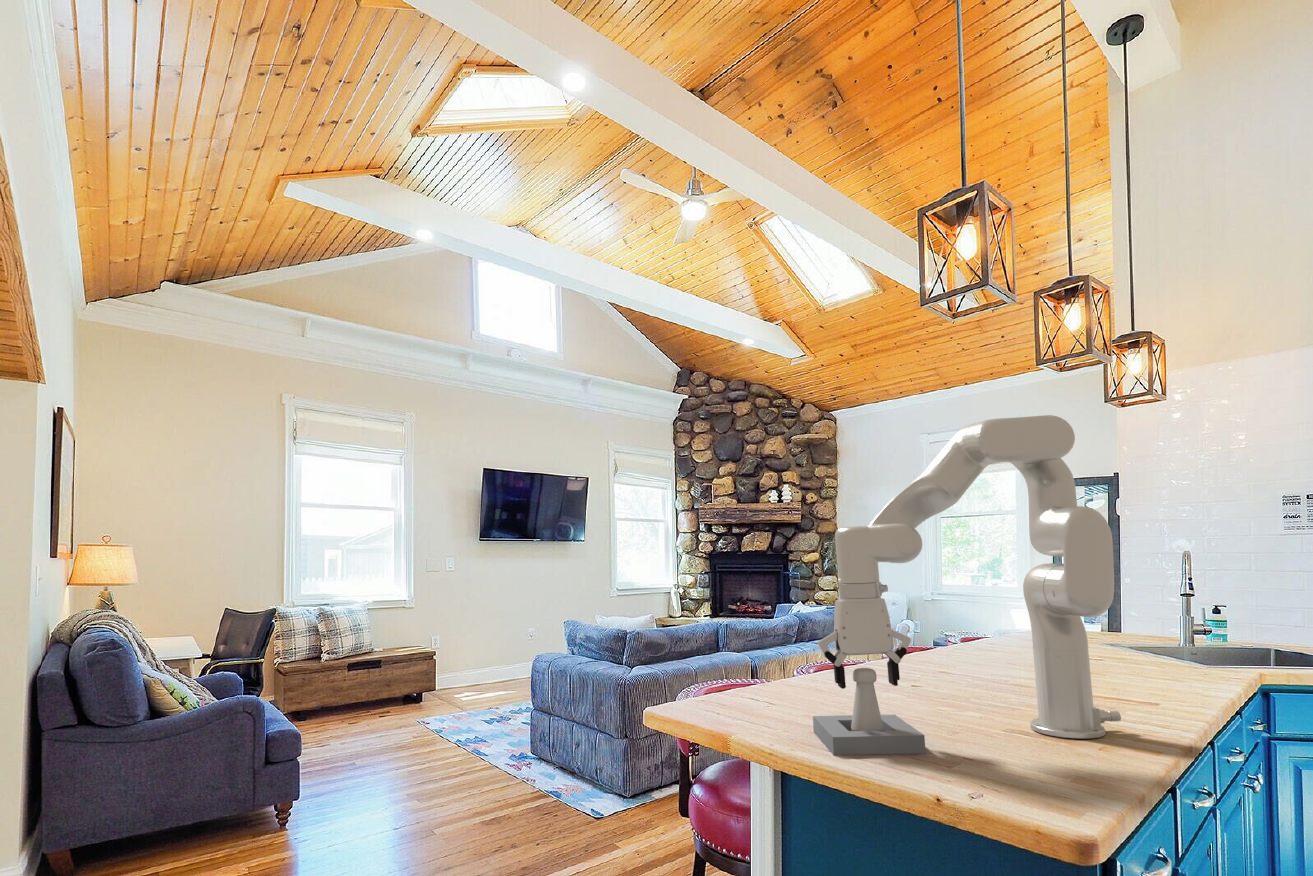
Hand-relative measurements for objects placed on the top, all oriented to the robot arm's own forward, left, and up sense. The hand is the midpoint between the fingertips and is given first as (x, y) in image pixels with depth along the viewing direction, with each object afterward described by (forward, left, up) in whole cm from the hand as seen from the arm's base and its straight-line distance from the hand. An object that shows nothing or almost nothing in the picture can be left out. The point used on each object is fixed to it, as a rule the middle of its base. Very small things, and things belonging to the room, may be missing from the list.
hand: (867, 685), depth 140 cm
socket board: (+1, 0, -10) cm, 10 cm away
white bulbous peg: (+1, 0, -10) cm, 10 cm away
